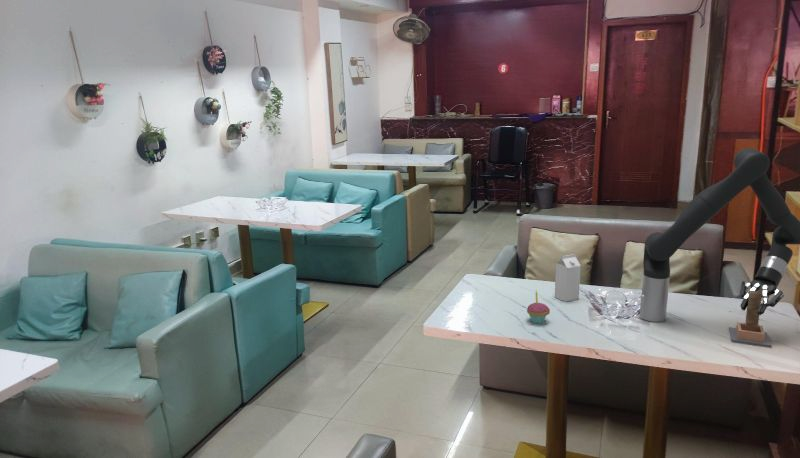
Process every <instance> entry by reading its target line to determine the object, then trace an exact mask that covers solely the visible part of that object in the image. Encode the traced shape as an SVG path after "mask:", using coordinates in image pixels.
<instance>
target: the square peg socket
mask: <svg viewBox="0 0 800 458" xmlns="http://www.w3.org/2000/svg"><path fill="white" fill-rule="evenodd" d="M728 332H729V337H730V342H731V343H737V344H742V345H743V344H744V345H751V346H757V347H758V346H759V347H764V348H765V347H766V348H772V343H771V340H770V337H769V334H768V332H767V331H765V330H764V326H763V325H761V324H758V327H754V326H746V323H745V322H739V321H737V322H736V323H735V327H730V326H729V327H728Z"/></svg>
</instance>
